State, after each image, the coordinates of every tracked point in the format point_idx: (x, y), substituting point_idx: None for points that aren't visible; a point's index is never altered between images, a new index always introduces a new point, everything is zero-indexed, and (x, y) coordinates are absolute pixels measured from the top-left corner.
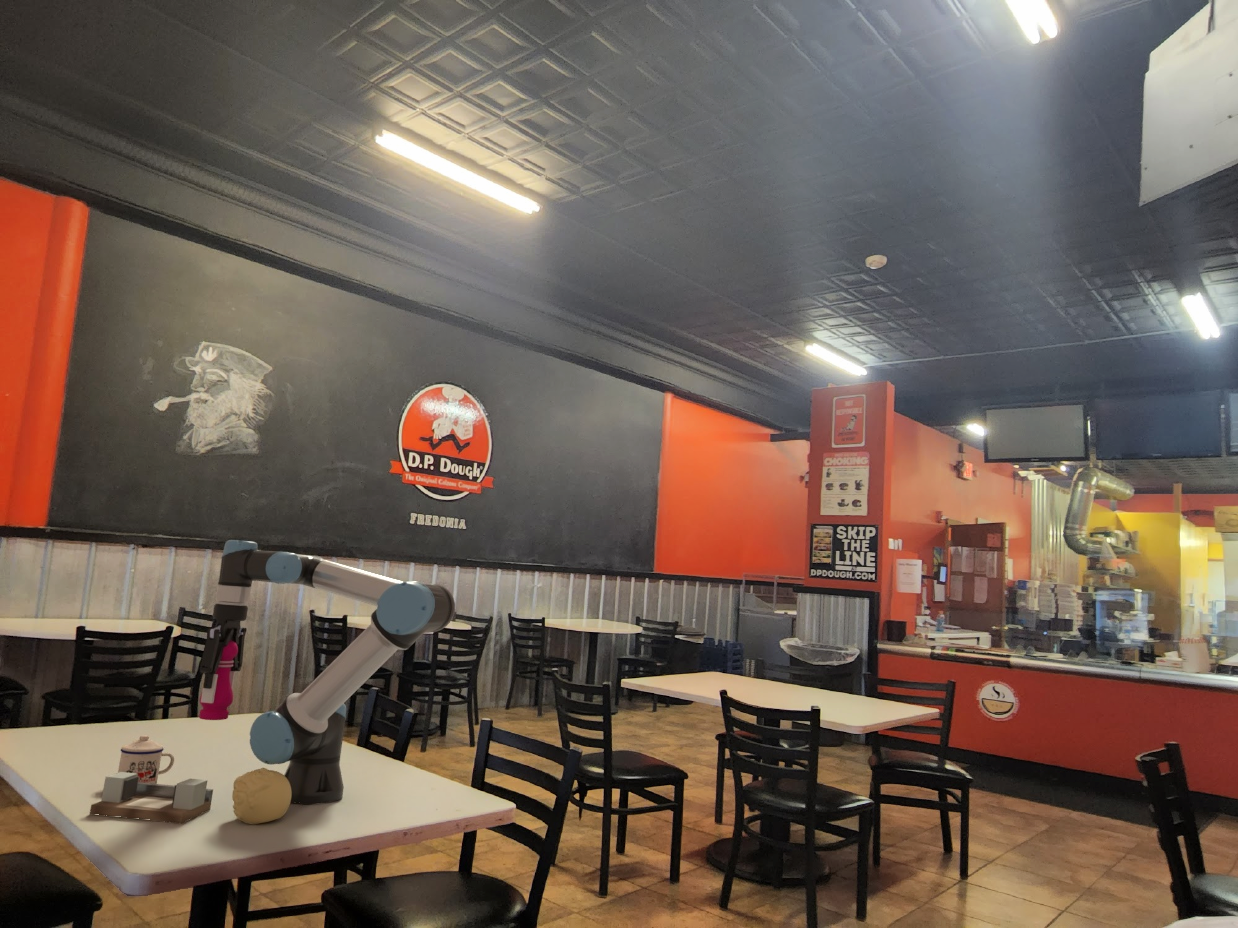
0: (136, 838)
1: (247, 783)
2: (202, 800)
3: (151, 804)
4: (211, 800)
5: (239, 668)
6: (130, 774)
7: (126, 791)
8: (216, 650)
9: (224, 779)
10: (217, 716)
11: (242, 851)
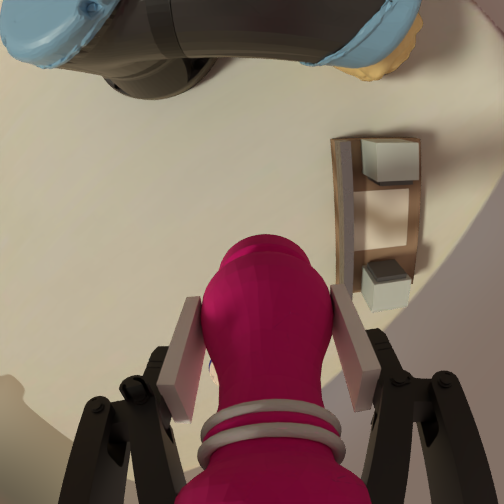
0: (476, 155)
1: (414, 34)
2: (369, 139)
3: (393, 213)
4: (334, 140)
5: (129, 389)
6: (384, 289)
7: (396, 265)
8: (464, 483)
9: (136, 249)
10: (299, 249)
11: (465, 13)
